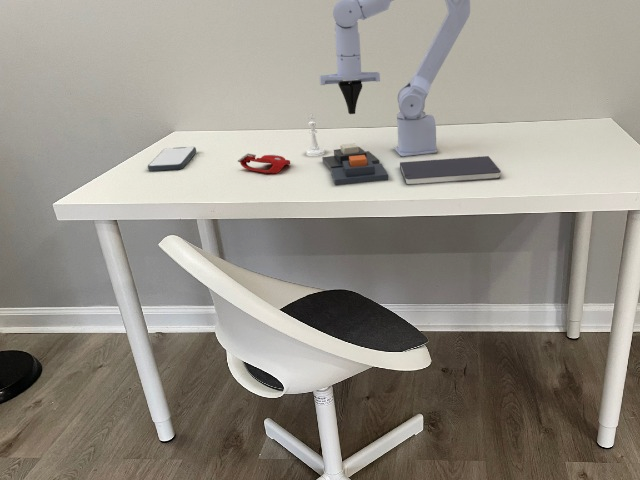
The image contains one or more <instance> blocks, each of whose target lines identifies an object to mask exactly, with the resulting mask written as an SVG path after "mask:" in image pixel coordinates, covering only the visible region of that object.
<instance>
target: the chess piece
mask: <svg viewBox="0 0 640 480" xmlns="http://www.w3.org/2000/svg"><path fill="white" fill-rule="evenodd" d="M307 119H308V120H310V121H308V123H307V124H308V126H309V128H310V130H309V131H308V133H309V134H311V146H310V148H309V149H307V150H306V151H305V155H306V156H309V157H318V156H323V155H324V154H326V151H325V149H324V148H321V147H320V146H319V144H318V140H317V135H316V134H317V133H318V130H316V126H317V122H316V121H315V120H316V116H313V113H311V114H310V115H309V116H307Z"/></svg>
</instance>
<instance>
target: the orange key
mask: <svg viewBox="0 0 640 480" xmlns="http://www.w3.org/2000/svg"><path fill="white" fill-rule="evenodd" d="M349 163H350V166H351V167H357V166H367V159H366V157H365V155H358V156H349Z"/></svg>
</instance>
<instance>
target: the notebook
mask: <svg viewBox="0 0 640 480" xmlns="http://www.w3.org/2000/svg"><path fill="white" fill-rule="evenodd" d="M399 169H400V172H401V175H402V177H403V180H404V184H405V185H406V186H416V185H429V184H430V185H431V184H442V183H443V184H444V183H459V182H460V183H461V182H473V181H485V180H487V181H488V180H499V179H501V175H500V173H501V169H500V168H499V166H497V164H496V163H495V162H494V161H493V159H492V158H491V157H490V156H489V155H485V156H470V157H457V158H456V157H455V158H443V159H428V160H427V159H426V160H413V161H400V162H399Z"/></svg>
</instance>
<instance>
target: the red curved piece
mask: <svg viewBox="0 0 640 480" xmlns="http://www.w3.org/2000/svg"><path fill="white" fill-rule="evenodd" d="M237 162H238V163H240V165H241V167H243V168H244V169H247V170H249V171H252V172H259V173H263V174H264V173H265V174H278V173H279V172H281V170H283V168H284V167H285V166H286V165H287V166H289V165H291V160H288V159H286V158H285V157H284V156H283V155H282V156H281V155H277V154H265V155H262V156H261V157H257V155H256V154H253V153H246V154H245V155H243V156H242V157H240V158H238V159H237ZM251 162H255V163H261V164H270V165H272V166H271V167H270V168H269V169H262V168H257V167H252V166H250V165H249V163H251Z"/></svg>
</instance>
